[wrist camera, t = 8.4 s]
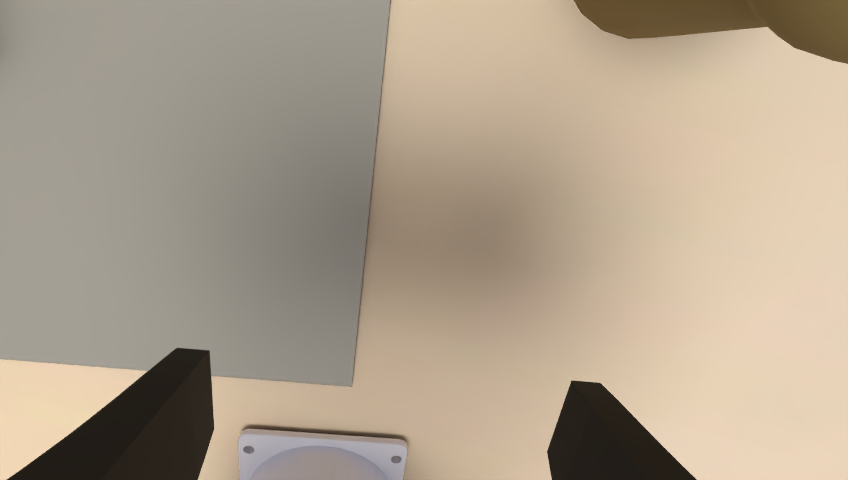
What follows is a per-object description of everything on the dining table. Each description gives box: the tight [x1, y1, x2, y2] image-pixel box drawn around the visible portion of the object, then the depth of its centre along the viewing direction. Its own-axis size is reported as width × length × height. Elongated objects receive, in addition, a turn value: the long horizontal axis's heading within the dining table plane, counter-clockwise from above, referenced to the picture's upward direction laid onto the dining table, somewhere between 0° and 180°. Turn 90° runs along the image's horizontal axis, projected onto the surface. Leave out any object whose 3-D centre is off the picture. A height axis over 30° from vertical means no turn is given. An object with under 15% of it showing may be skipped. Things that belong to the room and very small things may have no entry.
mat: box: [0, 0, 390, 387], centre depth 18 cm, size 20×20×1 cm
